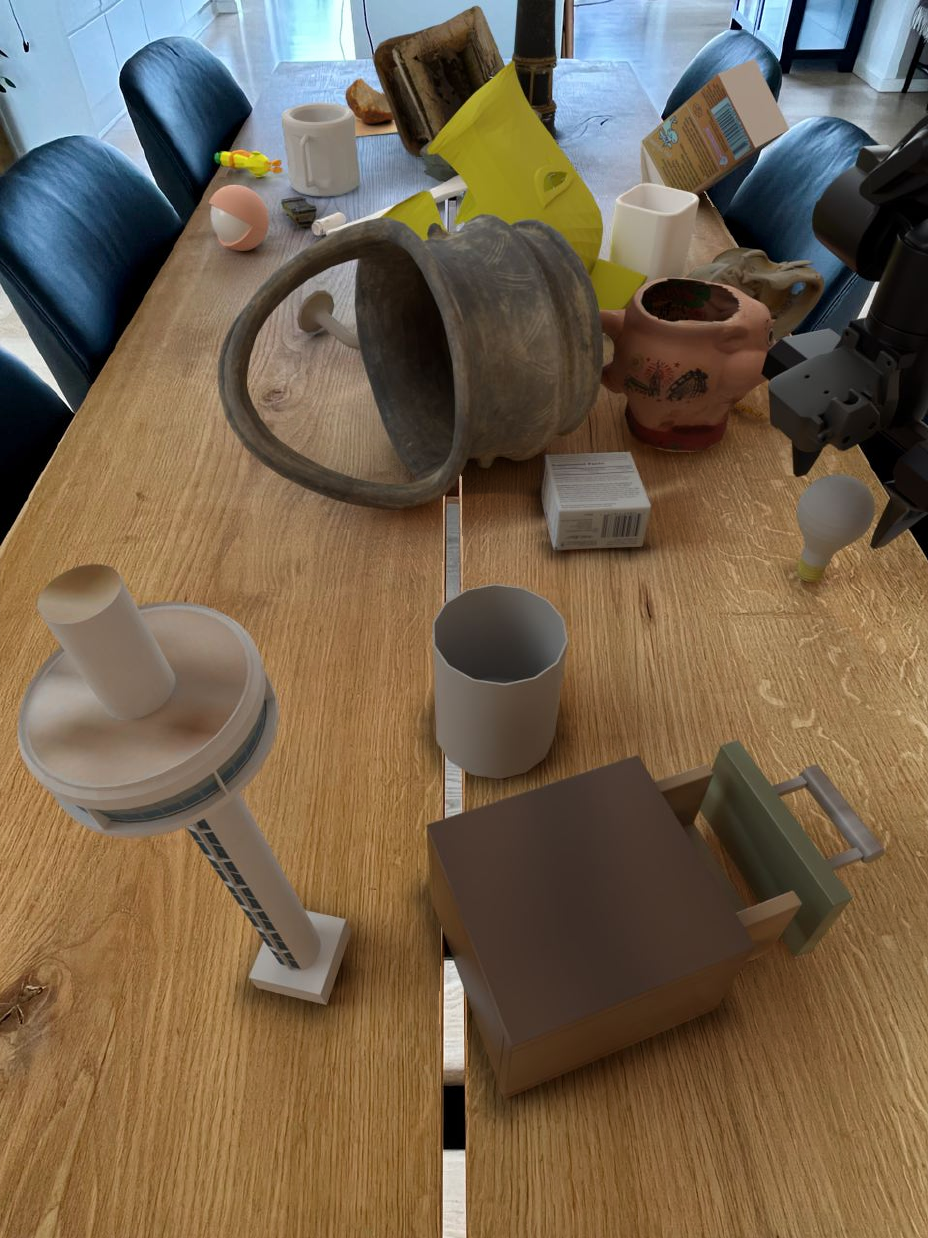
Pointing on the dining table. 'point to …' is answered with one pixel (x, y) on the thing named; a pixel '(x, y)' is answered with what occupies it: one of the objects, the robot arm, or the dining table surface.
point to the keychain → (749, 411)
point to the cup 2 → (653, 230)
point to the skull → (767, 284)
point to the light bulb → (831, 520)
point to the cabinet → (580, 921)
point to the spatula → (438, 193)
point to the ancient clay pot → (441, 349)
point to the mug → (321, 148)
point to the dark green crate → (300, 211)
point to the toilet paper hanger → (324, 318)
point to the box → (594, 501)
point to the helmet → (519, 181)
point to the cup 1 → (497, 679)
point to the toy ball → (238, 217)
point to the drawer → (771, 846)
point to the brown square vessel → (435, 74)
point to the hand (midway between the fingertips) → (836, 509)
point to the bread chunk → (369, 109)
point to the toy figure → (248, 162)
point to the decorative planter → (685, 359)
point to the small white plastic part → (328, 223)
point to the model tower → (171, 750)
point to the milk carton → (713, 132)
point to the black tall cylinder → (536, 56)
